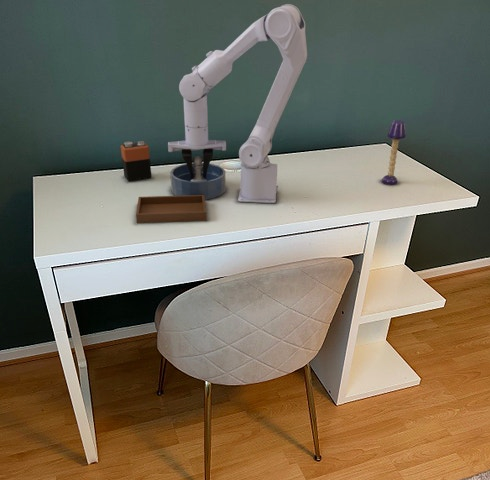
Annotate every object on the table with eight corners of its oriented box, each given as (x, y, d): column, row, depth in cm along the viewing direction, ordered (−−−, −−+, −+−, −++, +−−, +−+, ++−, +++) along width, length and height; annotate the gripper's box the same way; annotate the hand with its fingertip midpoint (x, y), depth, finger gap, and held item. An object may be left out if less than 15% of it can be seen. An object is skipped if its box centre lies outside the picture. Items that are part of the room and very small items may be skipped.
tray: (204, 202, 127) (204, 194, 125) (206, 220, 118) (206, 212, 117) (139, 204, 125) (138, 196, 124) (136, 223, 116) (135, 214, 115)
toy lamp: (378, 183, 139) (388, 122, 130) (381, 177, 143) (391, 118, 134) (395, 186, 138) (407, 124, 129) (398, 180, 142) (409, 120, 132)
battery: (124, 176, 140) (119, 141, 135) (147, 173, 143) (144, 138, 137) (127, 182, 137) (123, 146, 131) (152, 178, 140) (148, 143, 134)
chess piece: (202, 181, 135) (201, 152, 131) (210, 187, 132) (210, 157, 128) (186, 184, 133) (185, 155, 129) (195, 190, 130) (193, 160, 126)
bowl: (227, 180, 139) (227, 163, 136) (222, 201, 127) (222, 183, 124) (176, 179, 140) (175, 161, 137) (167, 199, 128) (165, 181, 125)
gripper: (224, 119, 128) (224, 171, 135) (166, 121, 126) (170, 172, 134) (226, 127, 122) (227, 180, 130) (166, 129, 121) (170, 182, 128)
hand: (198, 177), depth 131 cm, fingers closed on chess piece, 3 cm apart
